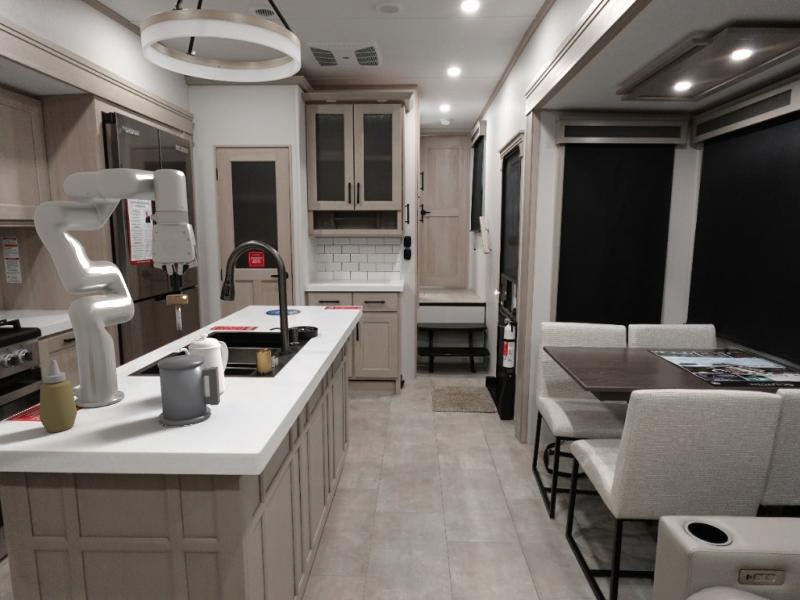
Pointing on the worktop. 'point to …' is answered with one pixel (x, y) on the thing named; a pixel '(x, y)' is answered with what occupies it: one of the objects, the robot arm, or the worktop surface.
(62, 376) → the squeeze bottle
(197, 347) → the coffeepot
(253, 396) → the worktop surface
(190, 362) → the press carafe
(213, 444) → the worktop surface
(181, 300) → the plunger
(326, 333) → the worktop surface
